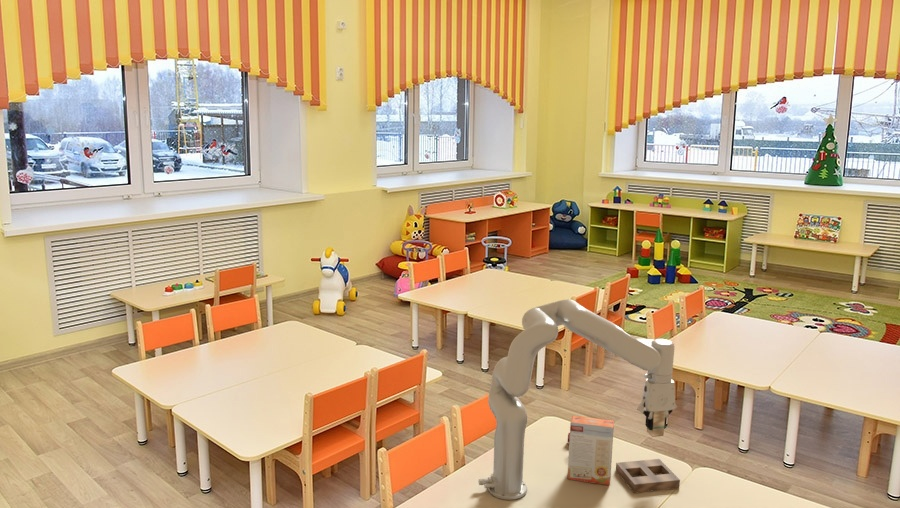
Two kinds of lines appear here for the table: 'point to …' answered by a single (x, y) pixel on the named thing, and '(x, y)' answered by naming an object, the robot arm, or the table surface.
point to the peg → (657, 424)
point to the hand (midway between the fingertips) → (655, 427)
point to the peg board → (647, 475)
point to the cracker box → (590, 450)
